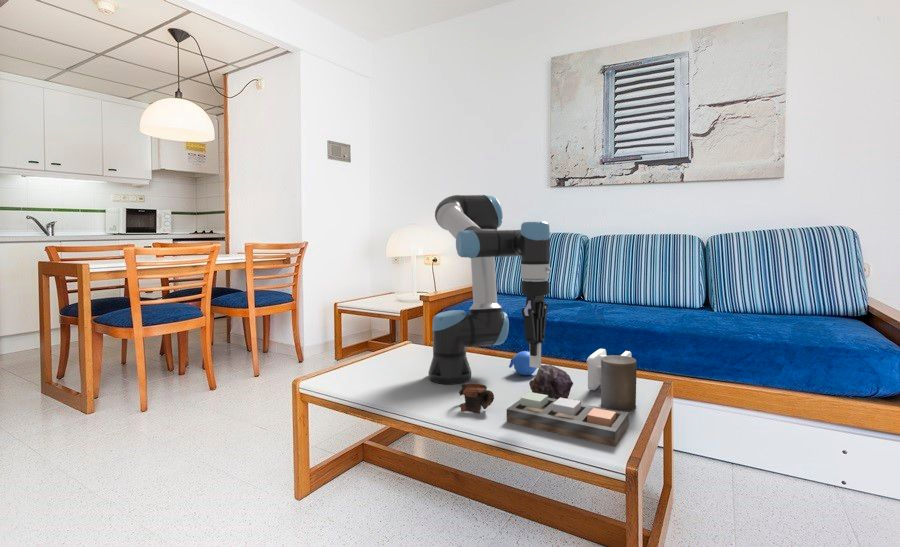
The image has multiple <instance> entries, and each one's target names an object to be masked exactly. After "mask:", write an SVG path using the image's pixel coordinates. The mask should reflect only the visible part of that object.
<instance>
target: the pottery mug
mask: <svg viewBox="0 0 900 547" xmlns="http://www.w3.org/2000/svg"><path fill="white" fill-rule="evenodd" d="M458 394H459V396H460V397H461V396H462V395H463V396H464V402H463V403H460V405H459V406H460V412H464V413H465V412H470V413H477V414H480V413H481V409H483V410H486V409H488V407H490V406H491V405H492V403H493V402H494V399H495V395H494V393H493V391H492V390H488V387H487V386H486V385H485V384H482V383H475V382H469V383H463V384H461V389H460V390H459V392H458Z"/></svg>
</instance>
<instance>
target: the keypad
mask: <svg viewBox="0 0 900 547" xmlns="http://www.w3.org/2000/svg"><path fill="white" fill-rule="evenodd" d="M557 400H558V399H555V398H548V403H547V404H546V405H544V406H543V407H542V408H541V409H538V408H533V407H528V406H523V405H521V398H519V400H517V401H516V402H514V403H513V404H511V405H510V406H509V407H507V408H506V423H511V424H514V425H518V426H523V427H527V428H532V429H537V430H542V431H546V432H551V433H553V434H558V435H564V436H567V437H572V438H576V439H581V440H585V441H588V442H589V441H590V442H594V443H598V444H603V445H607V446H611V447H616V446H617V444H618V443H619V441H620V440H621V438H622V437H623V435H624V434H625V432H626V430H627V429H628V427H629V425H630V420H629V418H630V411H618V410H613V409H607V408H605V407H603V406H596V405H590V404H587V403H586V404H585V403H581V409H580V410H579V411H578V412H577V413H576V414H575V415H574V416H573V415H568V414H563V413H558V412H553V403H554V402H555V401H557ZM593 408H598V409H603V410H608V411H614V412H616V420H615V422H614V423H613V424H612V426H611V427H606V426H601V425H597V424H592V423H587V415H588V413H589V412H590V411H591V410H592V409H593Z"/></svg>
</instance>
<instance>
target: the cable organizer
mask: <svg viewBox="0 0 900 547" xmlns="http://www.w3.org/2000/svg"><path fill="white" fill-rule="evenodd" d="M620 355H621V356H628V357H632V352H631V351H630V350H629V351H628V350H625V351H624V352H623V353H622V354H620ZM604 356H607V350H606V349H605V348H599V349H597V350H596V351H594V352H593V353H592V354H590V355H589V356H588V357H587V359H586V364H587V388H588V390H591V391H595V390H597V389H598V388H599V387H601V358H602V357H604Z"/></svg>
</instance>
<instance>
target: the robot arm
mask: <svg viewBox="0 0 900 547" xmlns="http://www.w3.org/2000/svg"><path fill="white" fill-rule="evenodd" d="M502 209H503V208H502V205H501V203H500V201H499V200H498V198H497V197H496V196H494V195H485V194H474V195H473V194H472V195H470V194H468V195H466V194H465V195H461V194H456V195H450V196H447V197H445V198H444V199H442V200H441V201H440V202H439V203H438V204H437V206H436V208H435V211H434V219H435V221H436V223H437V225H438V226H439V227H440V228H441V229H442V230H445V231H448V232H449V234H450V235H451V236H452V237H453V238H454V239H455V249H456V253H457V255H458V256H459V257H460V258H467V259H468V258H469V259H470V266H471V267H470V268H471V284H472V285H471V286H472V302H473V303H472V305H471V306H470V307H469V310H468V311H469V313H467V312H466V311H465V310H462V309H457V310H456V309H455V310H454V309H453V310H452V309H451V310H447V311H446V310H445V311H442V312H438V313H437V314H435V315H434V316H433V318H432V328H431V330H432V360H431V362H430V366H429V369H428V375H427V376H428V380H429V381H431V382H432V383H436V384H441V385H442V384H444V385H455V384H456V385H457V384H462V383H463V384H464V383H465V382H466V383H467V382H468V381H471V380H472V369H471V366H470V363H469V361H468V358H467V357H468V356H467V348H472V347H473V348H476V347H493V346H498V345H501V344H504V343H505V341H506V340H507V338H508V334H509V329H510V328H509V327H510V322H509V316H508V314H507V313H506V312H505V311H503V307H502V305H500V303H498V294H497V275H496V259H495V258H504V257H505V258H506V257H507V258H510V257H520V278H521V279H522V280H521V282H520V293H521V295H523V296H525V297H526V299H525V307H522V308H521V315H522V318H523V327H524V337H525V343H526V344H529V352H530V367H535V368H537V369H539V368H540V367H541V365H542V343H545V341H546V340H545V338H546V336H545V334H546V324H547V313H548V308H549V303H548V302H545V296H548V295H549V294H550V292H551V290H550V286H551V284H550V281H549V280H548V279H550V272H551V271H552V268H551V267H550V261H551V260H550V257H551V255H550V254H551V233H550V224H549V223H548V222H547V221H524V222H522V223H521V225H520V229H505V230H504V229H503V230H502V229H498V228H500V227H501V225H502V223H503V210H502Z"/></svg>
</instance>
